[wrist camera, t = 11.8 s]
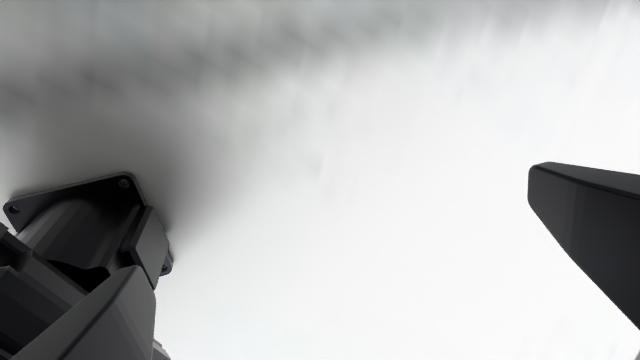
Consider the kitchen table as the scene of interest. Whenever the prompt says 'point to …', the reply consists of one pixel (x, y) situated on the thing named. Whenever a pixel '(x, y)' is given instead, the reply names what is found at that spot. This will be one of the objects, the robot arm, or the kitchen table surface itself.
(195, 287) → the kitchen table surface
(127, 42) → the kitchen table surface
